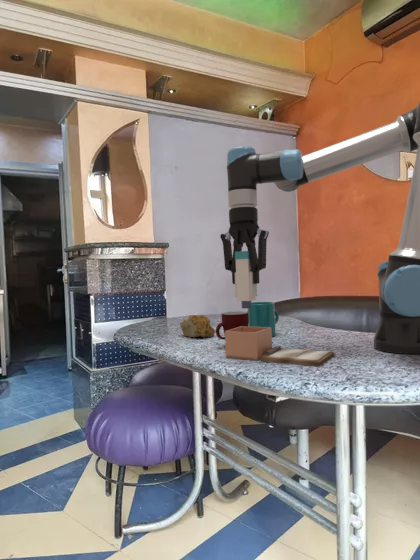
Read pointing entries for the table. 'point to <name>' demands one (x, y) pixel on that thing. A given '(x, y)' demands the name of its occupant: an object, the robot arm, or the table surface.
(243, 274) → the marker
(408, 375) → the table surface
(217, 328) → the mug
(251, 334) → the pen pot
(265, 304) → the cup
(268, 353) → the open book
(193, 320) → the rock
